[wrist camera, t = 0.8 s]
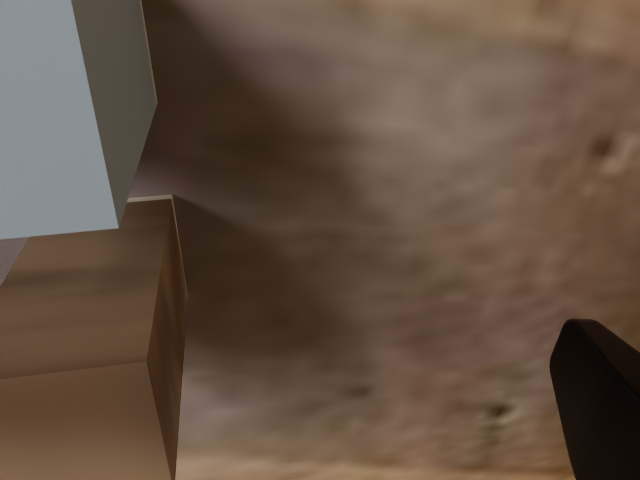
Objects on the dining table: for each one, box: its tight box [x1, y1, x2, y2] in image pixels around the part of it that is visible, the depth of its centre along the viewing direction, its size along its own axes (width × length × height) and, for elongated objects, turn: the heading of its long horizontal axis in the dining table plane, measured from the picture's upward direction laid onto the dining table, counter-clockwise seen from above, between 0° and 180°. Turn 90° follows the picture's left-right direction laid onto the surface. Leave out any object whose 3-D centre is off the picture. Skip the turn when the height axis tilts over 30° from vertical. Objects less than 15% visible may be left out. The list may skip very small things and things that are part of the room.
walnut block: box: [0, 194, 188, 480], centre depth 19 cm, size 4×4×10 cm
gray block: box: [0, 0, 158, 239], centre depth 16 cm, size 4×4×10 cm
